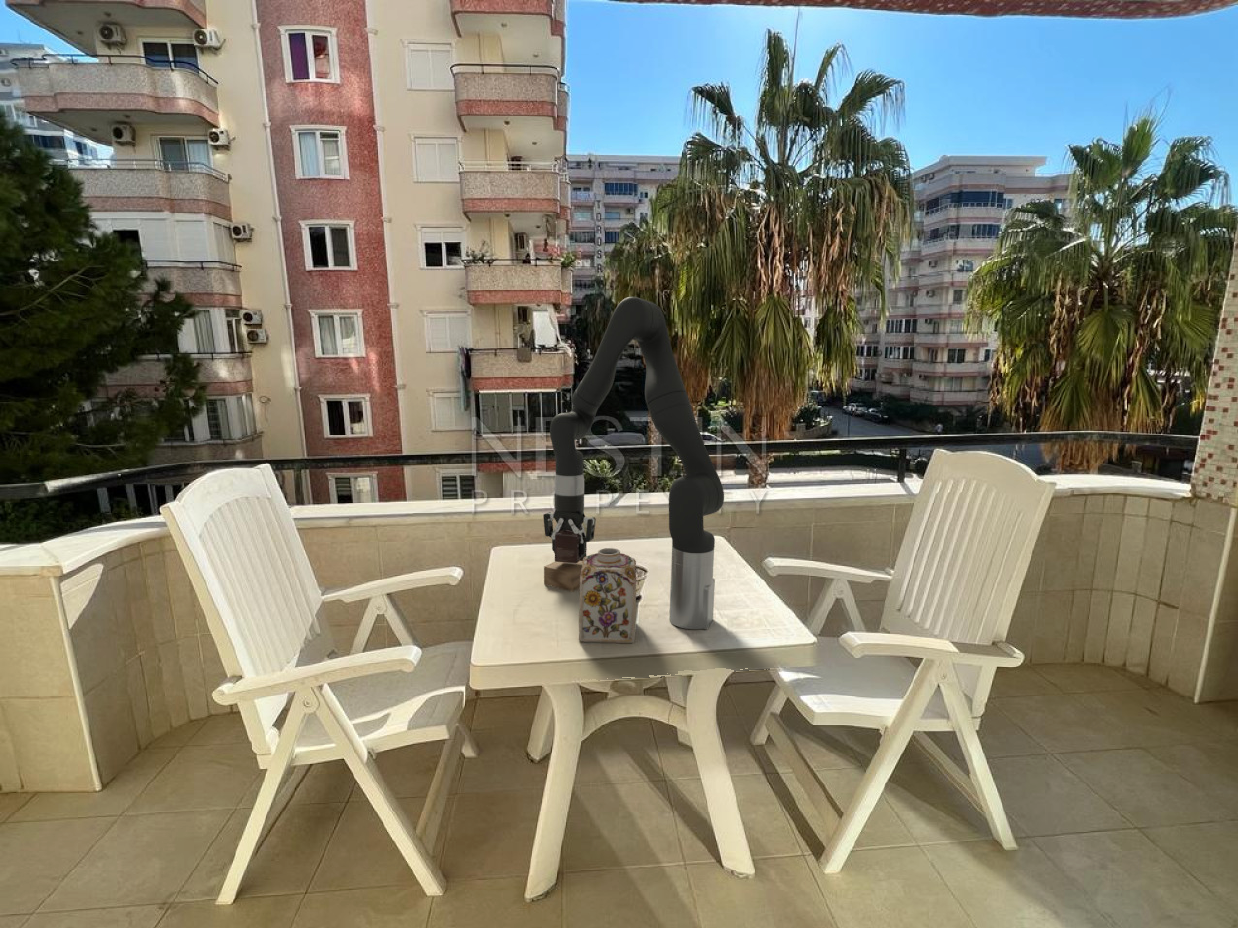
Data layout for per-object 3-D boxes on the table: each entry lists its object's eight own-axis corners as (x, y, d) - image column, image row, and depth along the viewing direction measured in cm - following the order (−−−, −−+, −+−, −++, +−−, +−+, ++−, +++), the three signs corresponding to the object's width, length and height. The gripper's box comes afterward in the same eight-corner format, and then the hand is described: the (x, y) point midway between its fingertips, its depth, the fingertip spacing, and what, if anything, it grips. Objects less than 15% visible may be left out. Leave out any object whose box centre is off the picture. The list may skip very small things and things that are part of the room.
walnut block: (592, 581, 156) (592, 563, 155) (572, 592, 148) (572, 573, 148) (565, 574, 161) (565, 556, 160) (544, 584, 153) (544, 566, 152)
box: (576, 564, 150) (577, 536, 148) (554, 562, 151) (554, 534, 150) (583, 556, 156) (583, 529, 154) (561, 554, 157) (561, 527, 155)
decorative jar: (635, 644, 121) (637, 560, 118) (578, 643, 121) (578, 559, 118) (634, 619, 133) (636, 542, 130) (582, 618, 133) (583, 541, 130)
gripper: (601, 491, 151) (600, 553, 154) (550, 485, 156) (551, 546, 159) (589, 497, 144) (588, 562, 147) (537, 491, 149) (537, 555, 152)
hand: (569, 554), depth 153 cm, fingers closed on box, 6 cm apart
